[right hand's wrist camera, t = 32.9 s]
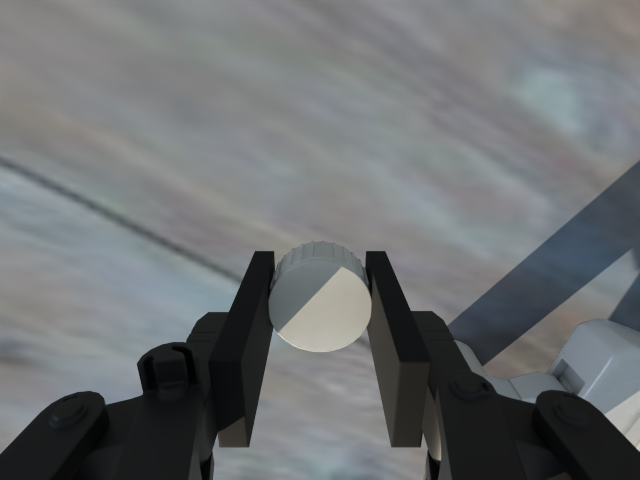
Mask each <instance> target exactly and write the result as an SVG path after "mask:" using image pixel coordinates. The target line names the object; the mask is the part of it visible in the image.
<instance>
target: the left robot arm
mask: <svg viewBox="0 0 640 480" xmlns="http://www.w3.org/2000/svg"><path fill="white" fill-rule="evenodd" d="M485 379H486V380H487V381H489V382H490V383H491V384H492V385H493V387H494V389H495V390H496V392H497V393H498V394H500V395H503V396H506V397H509V398H513V399H518V400H522V401H526V402H530V403H534V404H535V401H536V398H537V396H538V395H539V394H540V393H541V392H543V391H547V390H560V391H565V392H568V393H572V394H575V395H577V396H579V397H581V398H583V399H585V400H586V401H588V402H590V403H591V404H592V405H594V406H595V407H596V408H597V409H598V410H600V411H601V412H602V413H603V414H604V415H605V416H606V417H607V418H608V419H609V420H610V422H611V423H612V424H613V425H614V426H615V427H616V428H617V429H618V430H619V431H620V432H621V433H622V434H623V435H624V436H625V437H626V438H627V439H628V440H629V441H630V442H631V443H632V444H633V445H634V446H635V447H636V448H637V449H638V450H639V451H640V332H638V331H636V330H633V329H631V328H628V327H626V326H623V325H621V324H618V323H615V322H612V321H609V320H606V319H602V318H596V319H592V320H589V321H586V322H583V323H580V324H579V325H577V327H576V328H575V329H574V331H573V333H572V334H571V336H570V337H569V339H568V340H567V342H566V343H565V345H564V347H563V348H562V350H561V351H560V353H559V354H558V356H557V357H556V359H555V361H554V362H553V364H552V365H551V367H550V368H549V370H548V371H547V373H546V374H545V373H540V372H533V373H529V374H525V375H522V376H518V377H514V378H510V379H508V380H504V379H500V378H496V377H491V376H486V378H485Z"/></svg>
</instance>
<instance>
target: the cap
mask: <svg viewBox="0 0 640 480" xmlns="http://www.w3.org/2000/svg"><path fill="white" fill-rule="evenodd" d="M368 285H369V281H368V278H367V274H366V270H365V267H362V265H361V261H360V259H357V258H356V256H355V255H354V253H353V252H350V251H348V250H347V249H345V247H344V246H343V247H341V246H339V245H336V244H335V243H329V242H324V241H322V242H314V241H313V242H311V243H307V244H304V245H303V244H301V246H299V247H297V248H295V249H294V248H293V249H292V251H290V252H289V253H288V254H287V255H284V257H283V259H282V261H281V262H279V263H278V265H277V269H276V271H274V274H273V278H272V281H271V285H270V289H271V292H270V295H269V317H270V320H271V323H272V325H273V327H274V328H275V330H276V331H277V332H278V334H279V335H280V336H281V337H282V338H283V339H284V340H286V341H287V342H288V343H290V344H292V345H293V346H296V347H298V348H300V349H304V350H308V351H314V352H327V351H333V350H337V349H340V348H343V347H345V346H347V345H349V344H350V343H352V342H353V341H355V340H356V339H357V338H358V337H359V336H360V335H361V334H362V333H363V332H364V330H365V329H366V327H367V326H368V324H369V321H370V318H371V306H372V298H371V294H370V290H369V286H368Z"/></svg>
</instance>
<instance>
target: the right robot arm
mask: <svg viewBox="0 0 640 480" xmlns="http://www.w3.org/2000/svg"><path fill="white" fill-rule="evenodd" d="M365 270H366V274H367V278H368V281H369V285H368V286H369V290H370V294H371V298H372V306H371V318H370V321H369V324H368V326H367V331H368V336H369V340H370V345H371V350H372V355H373V360H374V365H375V370H376V375H377V380H378V384H379V389H380V394H381V399H382V404H383V409H384V414H385V419H386V423H387V428H388V433H389V438H390V443H391V447H421V442H422V434H424V437H425V440H426V443H427V447H428V452H427V459H426V465H425V472H424V479H423V480H640V451H639V450H638V449H637V448H636V447H635V446H634V445H633V444H632V443H631V442H630V441H629V440H628V439H627V438H626V437H625V436H624V435H623V434H622V433H621V432H620V431H619V430H618V429H617V428H616V427H615V426H614V425H613V424H612V423H611V422H610V420H609V419H608V418H607V417H606V416H605V415H604V414H603V413H602V412H601V411H600V410H598V409H597V408H596V407H595V406H594V405H592V404H591V403H590V402H588V401H586V400H585V399H583V398H581V397H579V396H577V395H575V394H572V393H568V392H565V391H560V390H547V391H543V392H541V393H540V394H539V395H538V396H537V398H536V401H535V404H534V403H530V402H526V401H522V400H518V399H513V398H509V397H506V396H503V395H500V394H498V393H497V392H496V390H495V389H494V387H493V385H492V384H491V383H490V382H489V381H487V380H486V379H485V378H484V377H482V376H480V375H478V374H476V373H474V372H472V370H471V369H470V367H469V365H468V363H467V361H466V360H465V358H464V356H463V354H462V353H461V351H460V349H459V347H458V345H457V344H456V342H455V341H454V338H453V336H452V335H451V333H449V329H448V328H447V326H446V324H445V322H444V320H443V319H441V318H440V317H439V316H437V315H436V314H435V313H434V312H432V311H411V310H410V308H409V306H408V303H407V301H406V299H405V296H404V294H403V292H402V289H401V287H400V285H399V282H398V280H397V278H396V275H395V273H394V271H393V268H392V266H391V264H390V261H389V259H388V257H387V254H386V252H385V251H366V266H365ZM274 271H275V261H274V251H255V253H254V255H253V257H252V260H251V262H250V264H249V267H248V269H247V271H246V274H245V276H244V278H243V281H242V283H241V285H240V288H239V290H238V292H237V295H236V297H235V299H234V302H233V304H232V306H231V309H230V311H229V312H208V313H207V314H206V315H204V316H203V317H202V318H201V319H199V320H198V321H197V322H196V324H195V326H194V328H193V329H192V331H191V334H190V335H189V337H188V338H187V340H186V343H185V342H172V343H167V344H163V345H160V346H158V347H156V348H153V349H151V350H150V351H148V352H147V353H146V354H144V355H143V356H142V357H141V359H140V360H139V361H138V363H137V367H138V371H139V376H140V380H141V384H142V389H143V395H141V396H139V397H136V398H132V399H129V400H125V401H120V402H116V403H112V404H108V405H106V404H105V400H104V398H103V397H102V396H101V395H100V394H99V393H96V392H92V391H85V392H77V393H74V394H71V395H68V396H64V397H63V398H61V399H59V400H57V401H55V402H53V403H52V404H50V405H49V406H48V407H47V408H45V409H44V410H43V411H42V412H41V413H40V414H39V415H38V416H37V417H36V418H35V419H34V420H33V421H32V422H31V423H30V424H29V425H28V426H27V427H26V428H25V429H24V430H23V431H22V432H21V433H20V434H19V435H18V436H17V438H16V439H15V440H14V441H13V442H12V443H11V444H10V445H9V446H8V447H7V448H6V449H5V450H4V451H3V452H2V453H1V454H0V480H213V472H214V459H213V452H212V449H213V446H214V443H215V439H216V436H217V433H218V440H219V447H249V444H250V439H251V434H252V430H253V425H254V420H255V415H256V410H257V405H258V400H259V395H260V390H261V386H262V381H263V376H264V371H265V366H266V361H267V356H268V351H269V346H270V342H271V337H272V332H273V325H272V323H271V320H270V317H269V295H270V292H271V289H270V285H271V281H272V278H273V274H274Z"/></svg>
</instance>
